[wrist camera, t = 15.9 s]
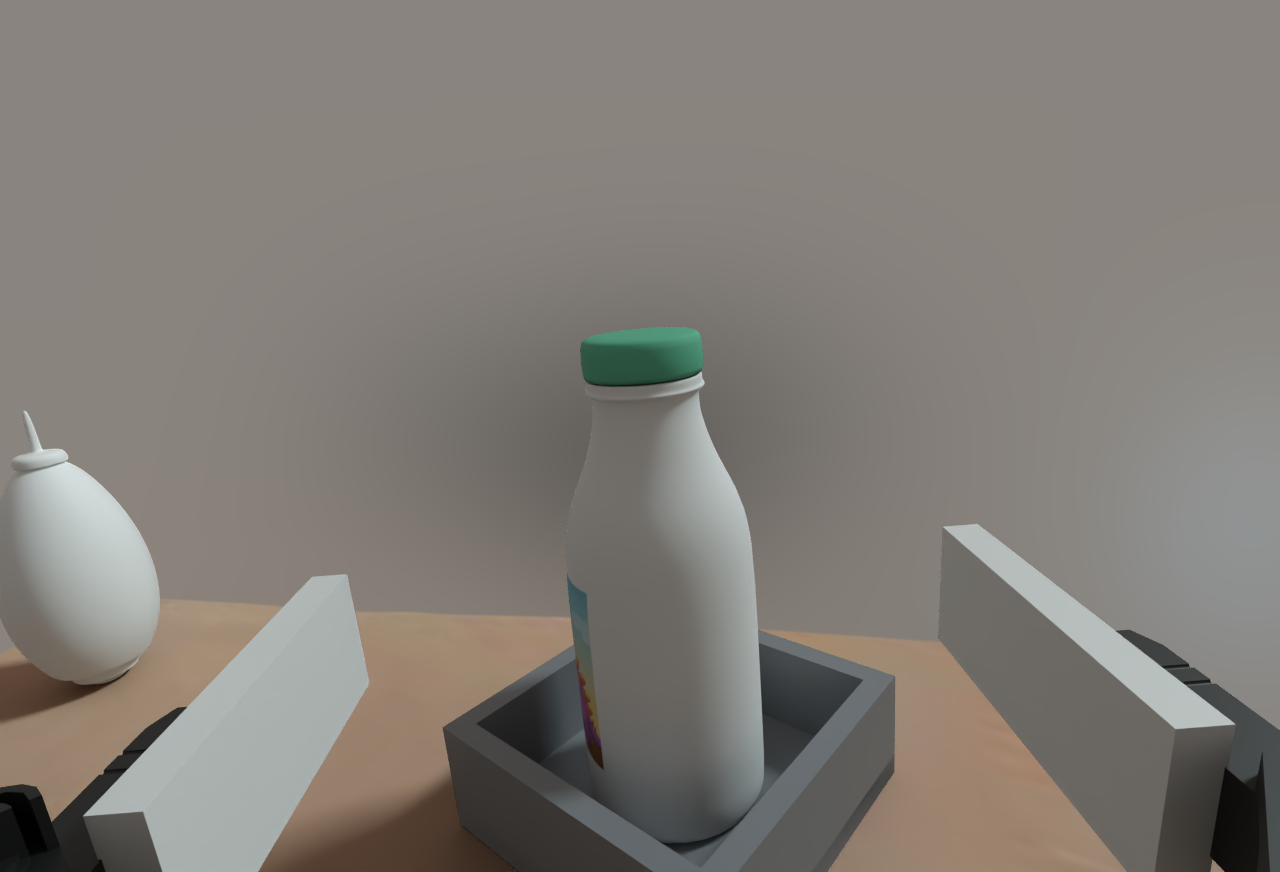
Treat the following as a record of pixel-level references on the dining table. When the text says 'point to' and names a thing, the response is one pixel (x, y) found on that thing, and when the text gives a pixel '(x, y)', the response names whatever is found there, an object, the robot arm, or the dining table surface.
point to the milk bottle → (662, 597)
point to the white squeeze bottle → (72, 571)
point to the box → (622, 853)
